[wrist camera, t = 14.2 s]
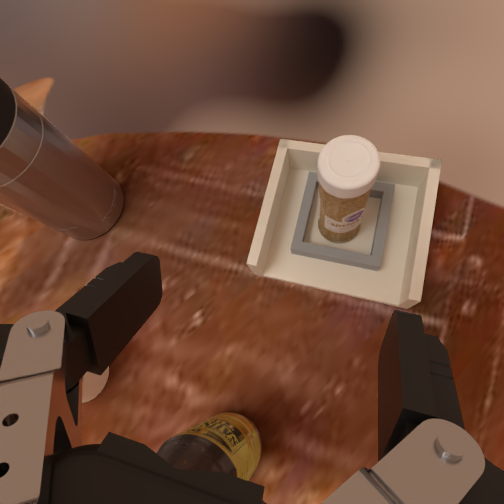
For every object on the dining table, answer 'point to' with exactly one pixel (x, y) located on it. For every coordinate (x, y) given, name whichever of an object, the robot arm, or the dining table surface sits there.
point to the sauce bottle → (216, 446)
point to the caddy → (363, 244)
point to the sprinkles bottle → (345, 185)
